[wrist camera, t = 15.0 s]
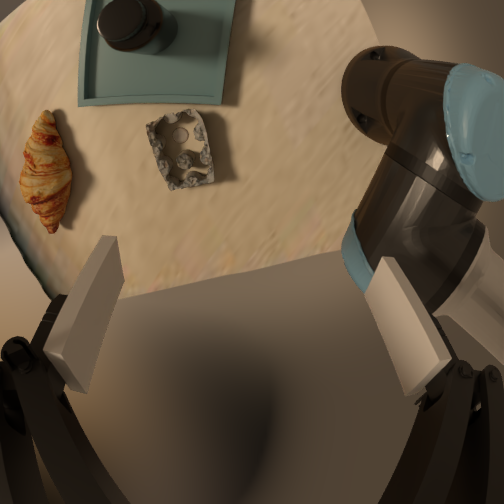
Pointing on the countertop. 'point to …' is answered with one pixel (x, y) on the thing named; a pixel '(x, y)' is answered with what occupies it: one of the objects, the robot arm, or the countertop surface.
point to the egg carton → (186, 156)
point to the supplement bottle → (137, 26)
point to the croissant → (46, 172)
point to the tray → (159, 59)
